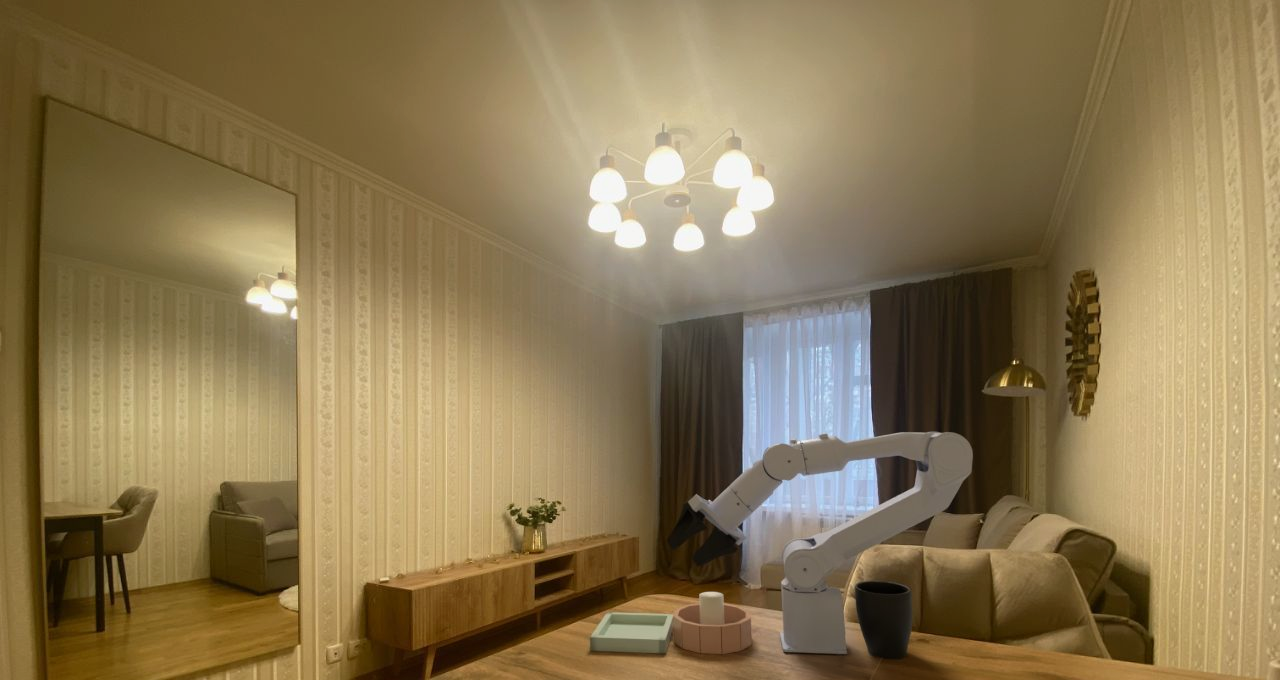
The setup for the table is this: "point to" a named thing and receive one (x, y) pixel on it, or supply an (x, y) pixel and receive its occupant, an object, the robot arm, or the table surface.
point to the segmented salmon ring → (712, 630)
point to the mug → (885, 617)
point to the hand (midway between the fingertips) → (682, 553)
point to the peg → (711, 608)
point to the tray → (633, 633)
